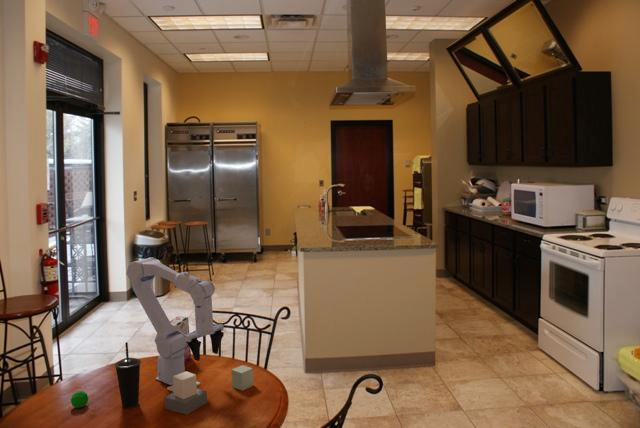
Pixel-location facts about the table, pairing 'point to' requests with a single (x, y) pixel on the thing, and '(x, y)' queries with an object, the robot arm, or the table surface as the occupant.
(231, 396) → the table surface
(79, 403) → the green ball
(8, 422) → the table surface
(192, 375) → the cream block
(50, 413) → the table surface
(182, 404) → the gray block
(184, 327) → the candy bar box
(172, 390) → the tile
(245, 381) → the sage block
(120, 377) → the drinking cup
